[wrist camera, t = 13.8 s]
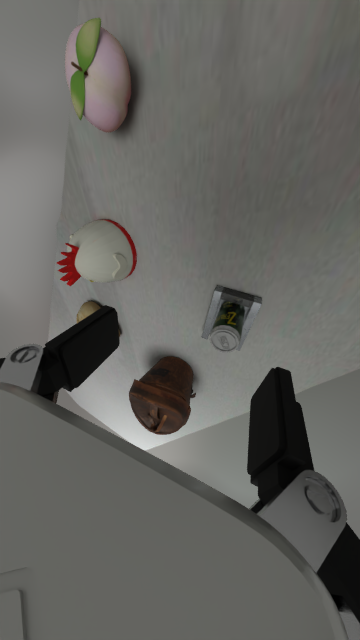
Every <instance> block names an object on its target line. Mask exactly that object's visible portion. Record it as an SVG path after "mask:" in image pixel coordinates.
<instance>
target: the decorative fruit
mask: <svg viewBox="0 0 360 640" xmlns="http://www.w3.org/2000/svg"><path fill="white" fill-rule="evenodd" d="M100 26H101V19H100V18H94V19H91V20H89V21H87V22H86V23H85V24H81V25H79V26H77V27H76V28H75V29H74V30H73V31H72V33H71V35H70V37H69V39H68V42H67V46H66V53H65V71H66V78H67V83H68V86H69V90H70V93H71V98H72V102H73V105H74V108H75V111H76V113H77V115H78V117H79V119H80V120H81V119H82V116H83V115H84V116H85V118H86V119H87V120H88V121H89V122H90V123H92V124H93V125H94V126H95V127H97V128H98V129H100V130H102V131H104V132H113V131H115V130H116V129H118V128H119V127H120V125H121V124H122V123H123V121H124V119H125V117H126V115H127V111H128V102H129V100H130V97H131V77H130V70H129V65H128V61H127V57H126V55H125V52H124V50H123V48H122V46H121V45H120V43H119V42H118V40H117V39H116V38H115V37H114V36H113V35H112V34H110V33H109V32H108V31H107V30H105V29H104V28H102V27H100Z"/></svg>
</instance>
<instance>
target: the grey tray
mask: <svg viewBox="0 0 360 640" xmlns="http://www.w3.org/2000/svg"><path fill="white" fill-rule="evenodd" d="M226 301H228V302H232V303H235V304H238V305H242V306H244V308H245V315H244V322H243V329H242V335H241V341H240V344H239V345H238V347H237V348H236V350H238V351H240V349H241V346H242V344H243V342H244V340H245V338H246V336H247V334H248V332H249V330H250V328H251V325H252V323H253V321H254V319H255V317H256V315H257V313H258V311H259V309H260V307H261V304H262V298H260V297H257V296H253V295H250V294H246V293H243V292H239V291H236V290H232V289H229V288H225V287H222V286H218V285H217V287H216V289H215V291H214V295H213V298H212V302H211V305H210V309H209V312H208V316H207V319H206V323H205V326H204V330H203V333H202V338H205V339H208V336H209V334H210V333H211V330H212V327H213V325H214V322H215V320H216V317H217V315H218V312H219V310H220V307H221V305H222V304H223V303H224V302H226Z"/></svg>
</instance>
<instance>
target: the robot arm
mask: <svg viewBox="0 0 360 640" xmlns="http://www.w3.org/2000/svg"><path fill="white" fill-rule="evenodd" d="M45 346H46V347H45V348H42V346H40V345H37V344H28V345H23V346H20V347H18V348H16V349H14V350H13V351H11V352H10V353H9V354H8V356H7V357H6V358H1V359H0V640H360V539H359V538H358V537H357V536H356V534H355V533H354V532H353V530H352V529H351V528H350V526H349V525H348V524H347V522H346V521H347V514H346V509H345V506H344V503H343V500H342V499H341V497H340V495H339V493H338V492H337V490H336V489H335V488H334V486H333V485H332V484H331V483H330V482H329V481H328V480H327V479H326V478H325V477H324V476H322V475H321V474H319V473H318V472H315V471H314V467H313V463H312V457H311V453H310V447H309V442H308V437H307V433H306V428H305V422H304V417H303V412H302V408H301V405H300V404H299V403H298V402H296V400H295V394H294V388H293V383H292V377H291V372H290V371H288V370H285V369H283V368H280V367H276V368H275V369H274V368H272V369H271V370H270V371H269V373H268V374H267V376H266V377H265V379H264V380H263V382H262V383H261V385H260V386H259V388H258V389H257V390H256V392H255V393H254V395H253V396H252V399H251V405H250V426H249V445H248V464H247V472H248V474H250V475H251V483H252V484H254V485H255V486H258V496H259V499H258V500H257V501H256V502H255V503H254V504H253V505H252V506H251V507H250V508H249V509H248V508H246V507H245V506H243V505H241V504H240V503H238V502H237V501H235V500H233V499H231V498H230V497H228V496H226V495H224V494H223V493H221V492H219V491H217V490H215V489H213V488H212V487H210V486H208V485H207V484H205V483H203V482H201V481H199V480H197V479H196V478H194V477H192V476H190V475H188V474H186V473H184V472H183V471H181V470H179V469H177V468H175V467H174V466H172V465H170V464H168V463H166V462H164V461H163V460H161V459H159V458H157V457H155V456H153V455H151V454H149V453H148V452H146V451H144V450H142V449H140V448H138V447H136V446H135V445H133V444H131V443H129V442H127V441H125V440H123V439H122V438H120V437H118V436H116V435H114V434H112V433H110V432H108V431H107V430H105V429H103V428H101V427H99V426H97V425H95V424H93V423H92V422H89V421H88V420H86V419H84V418H82V417H80V416H78V415H76V414H74V413H73V412H71V411H69V410H67V409H65V408H63V407H61V406H59V405H57V404H56V402H57V397H58V392H59V390H60V389H61V388H62V387H63V388H64V389H66V390H68V391H70V392H71V391H72V390H73V389H74V388H77V387H79V386H80V385H81V384H82V383H83V382H84V381H85V380H86V379H87V378H88V377H89V376H90V375H91V374H92V373H93V372H94V371H95V370H96V369H97V368H98V367H99V366H100V365H101V364H102V363H103V362H104V361H105V360H106V359H107V358H108V357H109V356H110V355H111V354H112V353H113V352H114V351H115V350H116V349H117V348H118V346H119V329H118V316H117V312H116V310H115V308H112V307H109V306H107V305H105V306H103V307H101V308H100V309H98V310H97V311H95V312H94V313H92V314H91V315H89V316H88V317H86V318H85V319H83V320H81V321H80V322H78V323H77V324H75V325H74V326H72V327H71V328H69V329H68V330H66V331H65V332H63V333H61V334H60V335H58V336H57V337H55V338H54V339H52V340H51V341H49V342H48V343H46V344H45Z"/></svg>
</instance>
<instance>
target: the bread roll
mask: <svg viewBox="0 0 360 640" xmlns="http://www.w3.org/2000/svg"><path fill="white" fill-rule="evenodd" d="M98 309H100V306H99V305H98V304H96V303H95V302H91V301H89V302H86V303H84V304H83V305H82V306H81V308H80V310H79V312H78V314H77V323H78V322H80V321H81V320H83V319H85V318H86V317H88V316H89V315H91V314H92V313H94V312H95V311H97V310H98ZM119 337H120V331H119Z"/></svg>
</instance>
